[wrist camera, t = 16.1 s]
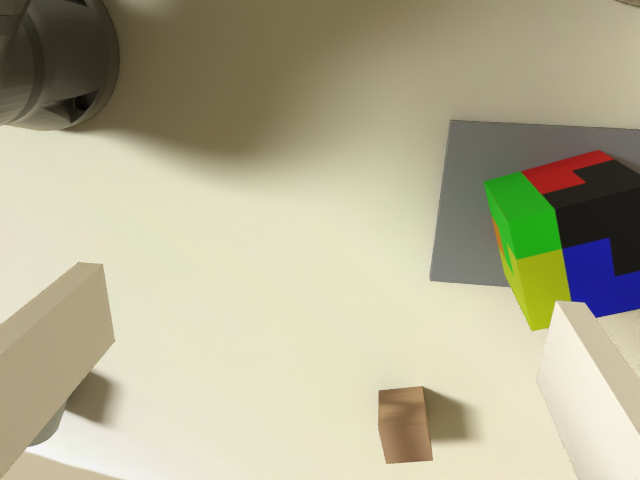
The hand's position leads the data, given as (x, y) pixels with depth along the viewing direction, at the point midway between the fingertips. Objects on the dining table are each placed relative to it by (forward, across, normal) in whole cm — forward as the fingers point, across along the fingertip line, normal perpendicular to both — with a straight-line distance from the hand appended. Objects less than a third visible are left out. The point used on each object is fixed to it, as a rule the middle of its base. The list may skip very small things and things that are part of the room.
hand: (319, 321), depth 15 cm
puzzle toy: (+34, +18, -8) cm, 39 cm away
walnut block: (+35, +7, -33) cm, 48 cm away
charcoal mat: (+35, +18, -8) cm, 40 cm away
